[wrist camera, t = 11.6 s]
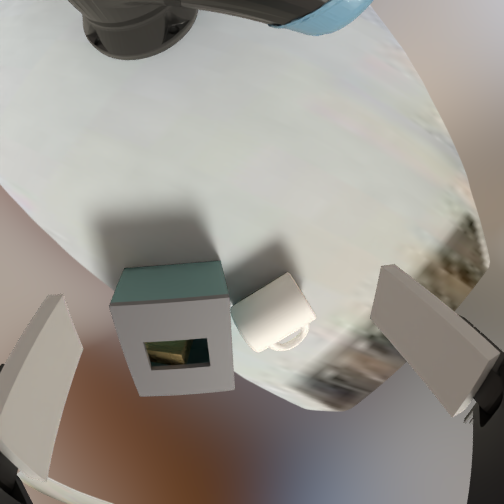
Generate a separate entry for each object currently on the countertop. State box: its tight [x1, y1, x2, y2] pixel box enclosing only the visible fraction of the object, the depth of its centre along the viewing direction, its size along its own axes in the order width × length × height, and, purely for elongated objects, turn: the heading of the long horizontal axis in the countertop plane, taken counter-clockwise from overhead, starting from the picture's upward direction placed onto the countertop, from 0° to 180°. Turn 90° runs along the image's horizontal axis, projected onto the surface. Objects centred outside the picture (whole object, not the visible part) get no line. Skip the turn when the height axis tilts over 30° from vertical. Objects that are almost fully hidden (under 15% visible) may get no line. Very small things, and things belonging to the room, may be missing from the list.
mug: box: [231, 272, 316, 353], centre depth 43 cm, size 12×10×8 cm
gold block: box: [145, 339, 193, 365], centre depth 39 cm, size 6×3×7 cm, turn 90°
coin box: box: [109, 261, 235, 396], centre depth 39 cm, size 16×14×10 cm
